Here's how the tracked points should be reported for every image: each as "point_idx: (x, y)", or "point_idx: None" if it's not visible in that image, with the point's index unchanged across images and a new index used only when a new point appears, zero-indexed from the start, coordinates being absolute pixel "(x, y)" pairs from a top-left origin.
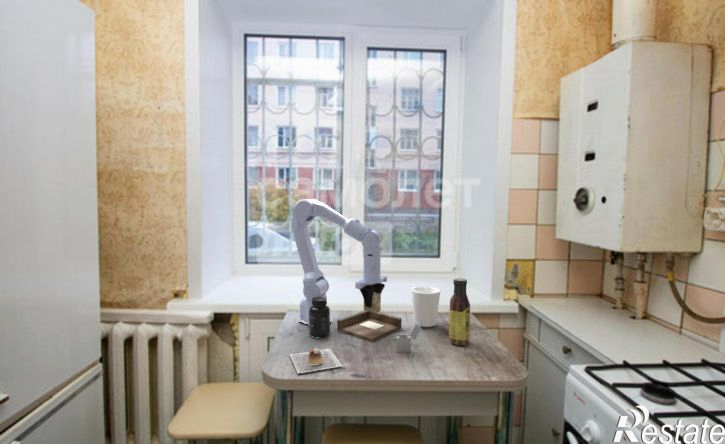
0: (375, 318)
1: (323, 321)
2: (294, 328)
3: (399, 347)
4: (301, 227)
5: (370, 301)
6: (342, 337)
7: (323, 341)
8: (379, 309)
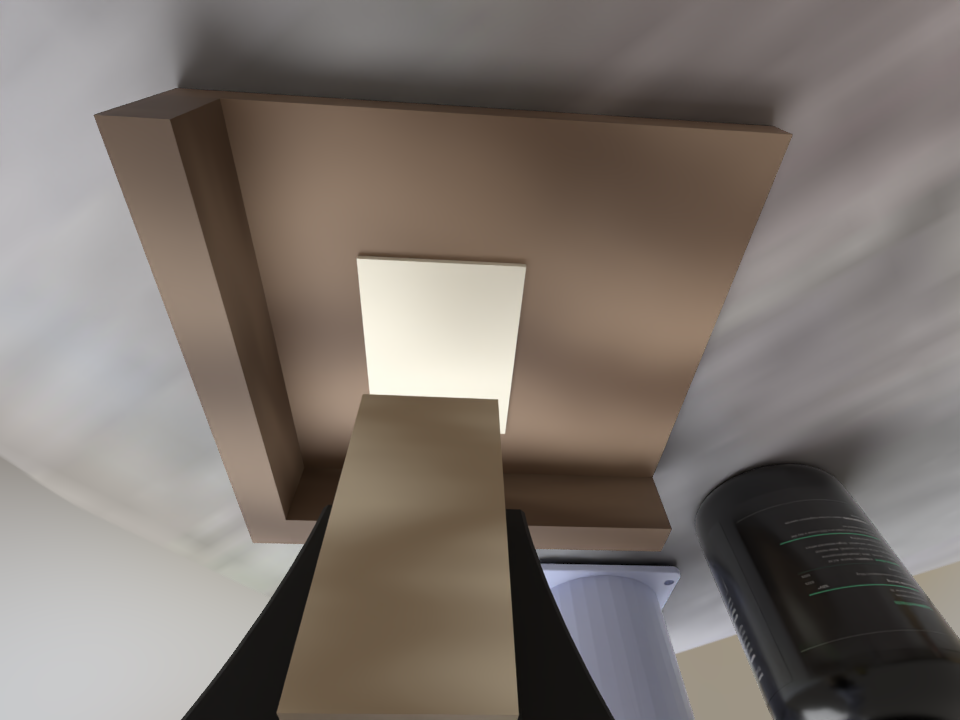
0: (286, 418)
1: (905, 579)
2: (724, 613)
3: None
4: None
5: (552, 602)
6: (756, 388)
7: (881, 432)
8: (385, 417)
